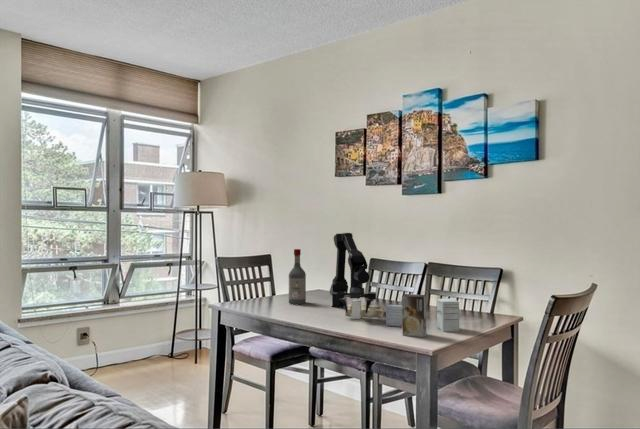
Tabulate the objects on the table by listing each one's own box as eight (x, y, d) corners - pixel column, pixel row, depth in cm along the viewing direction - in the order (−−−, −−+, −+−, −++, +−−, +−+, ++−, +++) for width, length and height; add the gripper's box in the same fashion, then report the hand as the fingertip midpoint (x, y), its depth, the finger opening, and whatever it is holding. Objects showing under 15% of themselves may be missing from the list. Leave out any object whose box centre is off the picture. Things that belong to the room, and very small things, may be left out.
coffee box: (427, 334, 197) (427, 294, 197) (424, 337, 191) (424, 297, 191) (404, 332, 200) (404, 293, 200) (401, 335, 194) (401, 295, 194)
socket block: (345, 315, 233) (345, 308, 233) (348, 310, 246) (348, 304, 246) (382, 317, 230) (382, 310, 230) (384, 311, 243) (384, 305, 243)
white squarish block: (351, 318, 227) (351, 301, 227) (352, 316, 231) (352, 300, 231) (360, 318, 226) (360, 301, 226) (361, 317, 230) (361, 300, 230)
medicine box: (405, 324, 213) (405, 305, 213) (404, 327, 209) (404, 307, 209) (388, 323, 216) (388, 304, 216) (386, 325, 212) (386, 306, 212)
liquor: (305, 304, 263) (305, 249, 263) (288, 304, 263) (288, 249, 263) (305, 301, 272) (305, 248, 272) (289, 301, 272) (289, 248, 272)
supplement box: (436, 327, 208) (436, 298, 208) (453, 327, 208) (453, 298, 208) (442, 331, 200) (442, 301, 200) (459, 331, 201) (459, 301, 201)
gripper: (334, 282, 222) (334, 316, 222) (374, 283, 219) (374, 317, 219) (338, 279, 233) (338, 311, 233) (376, 280, 230) (376, 312, 230)
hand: (356, 313), depth 228 cm, fingers open, 9 cm apart
